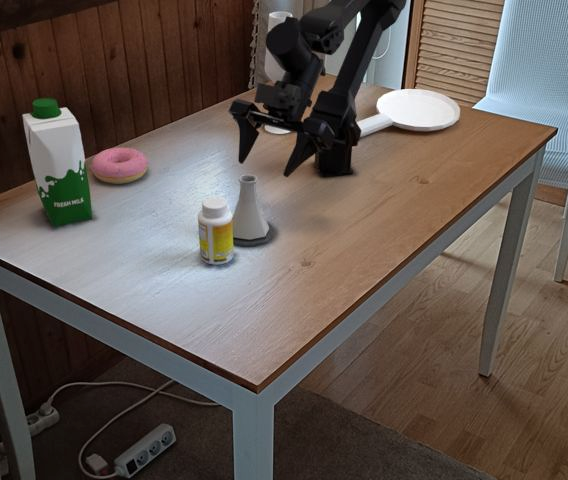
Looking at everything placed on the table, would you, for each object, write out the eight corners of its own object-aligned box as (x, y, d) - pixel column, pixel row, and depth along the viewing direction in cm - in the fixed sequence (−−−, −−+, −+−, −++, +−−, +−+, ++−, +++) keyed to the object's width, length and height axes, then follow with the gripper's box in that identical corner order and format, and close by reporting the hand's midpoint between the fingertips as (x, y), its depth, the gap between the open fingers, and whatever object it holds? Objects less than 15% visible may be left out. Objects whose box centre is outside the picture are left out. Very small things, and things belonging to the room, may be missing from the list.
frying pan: (363, 169, 156) (365, 149, 152) (306, 134, 166) (307, 114, 163) (475, 123, 172) (479, 104, 168) (416, 93, 182) (419, 75, 179)
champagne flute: (258, 129, 166) (258, 16, 151) (274, 119, 171) (275, 8, 156) (284, 136, 164) (286, 21, 149) (299, 126, 168) (303, 13, 153)
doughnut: (160, 173, 148) (158, 154, 146) (116, 192, 142) (114, 172, 139) (124, 157, 154) (122, 138, 151) (81, 175, 147) (78, 155, 145)
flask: (270, 240, 128) (271, 187, 122) (228, 241, 128) (227, 188, 121) (267, 219, 134) (267, 167, 127) (227, 220, 133) (225, 169, 127)
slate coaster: (266, 218, 135) (266, 215, 135) (279, 243, 128) (280, 240, 128) (218, 224, 133) (217, 221, 133) (229, 249, 126) (229, 247, 126)
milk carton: (85, 199, 140) (67, 93, 127) (99, 220, 133) (81, 111, 121) (38, 208, 136) (14, 101, 124) (50, 231, 130) (27, 120, 118)
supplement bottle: (238, 252, 126) (237, 197, 119) (225, 268, 122) (223, 213, 115) (208, 246, 127) (205, 191, 121) (194, 262, 123) (190, 207, 117)
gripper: (232, 50, 124) (196, 136, 124) (330, 72, 116) (292, 164, 116) (259, 84, 134) (225, 163, 134) (350, 106, 127) (315, 190, 126)
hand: (262, 169), depth 127 cm, fingers open, 9 cm apart
